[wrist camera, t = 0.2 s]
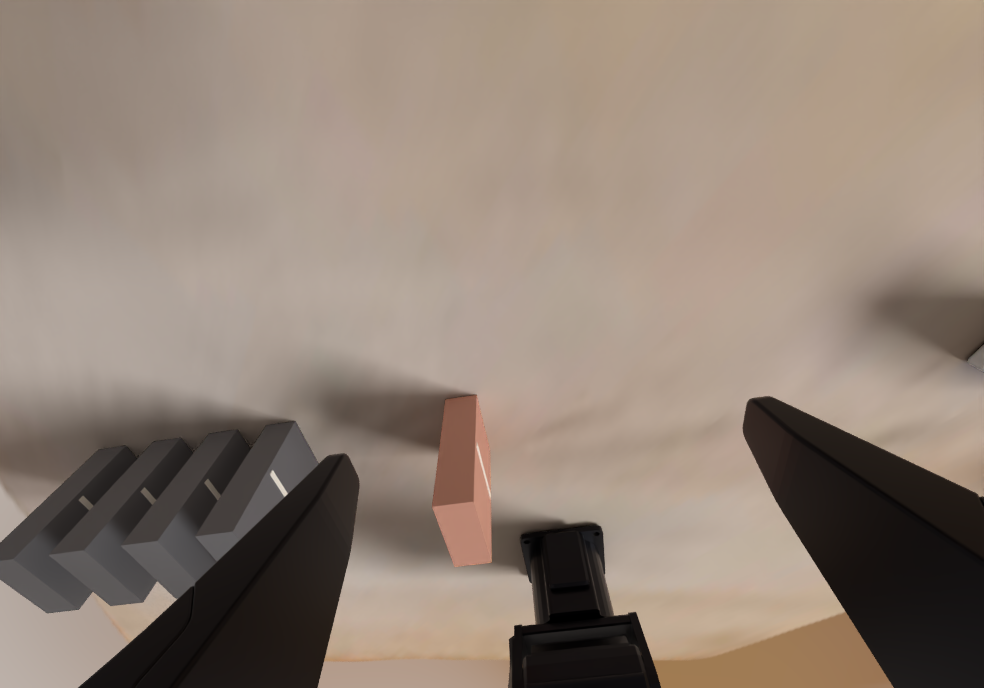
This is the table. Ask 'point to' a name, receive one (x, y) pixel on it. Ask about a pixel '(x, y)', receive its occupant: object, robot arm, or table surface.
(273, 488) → the domino
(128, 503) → the domino
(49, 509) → the domino
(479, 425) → the domino
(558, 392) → the table surface
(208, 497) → the domino
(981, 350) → the medicine box
